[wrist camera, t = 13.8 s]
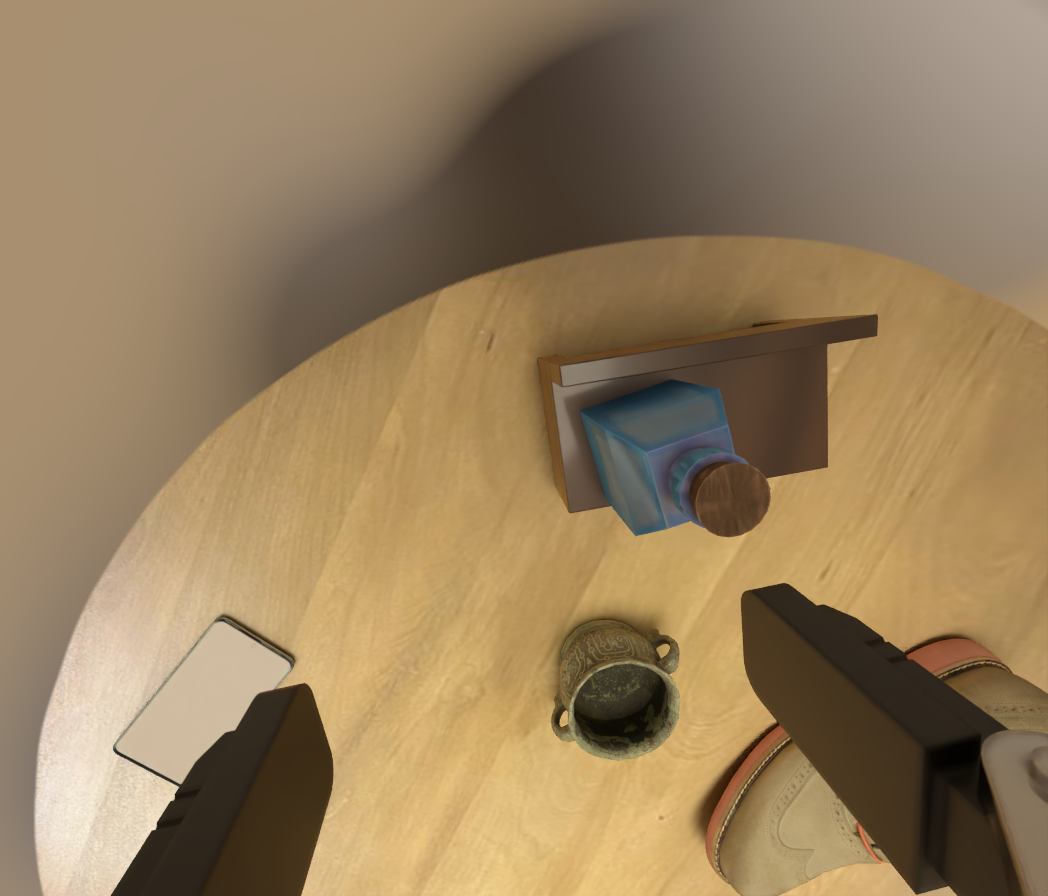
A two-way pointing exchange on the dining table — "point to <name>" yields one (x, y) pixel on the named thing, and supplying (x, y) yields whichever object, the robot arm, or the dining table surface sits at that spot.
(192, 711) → the smartphone
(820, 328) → the wooden display stand
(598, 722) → the vessel
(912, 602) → the dining table surface
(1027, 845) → the robot arm
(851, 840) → the oxford shoe
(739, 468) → the perfume bottle
